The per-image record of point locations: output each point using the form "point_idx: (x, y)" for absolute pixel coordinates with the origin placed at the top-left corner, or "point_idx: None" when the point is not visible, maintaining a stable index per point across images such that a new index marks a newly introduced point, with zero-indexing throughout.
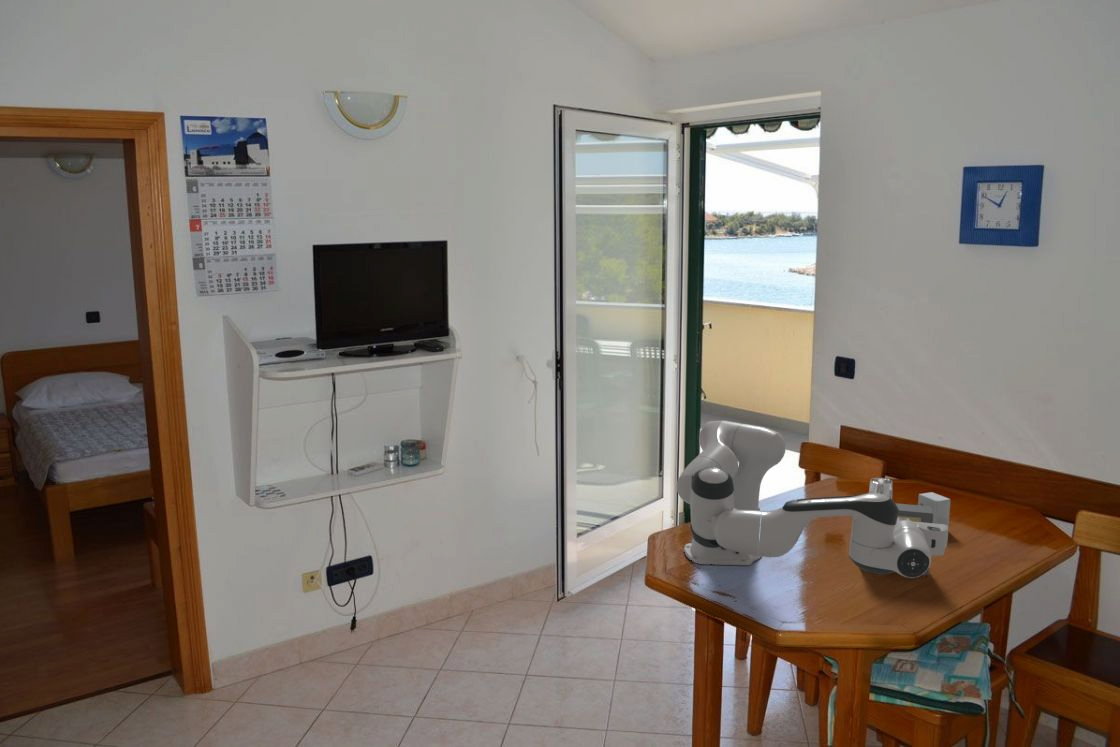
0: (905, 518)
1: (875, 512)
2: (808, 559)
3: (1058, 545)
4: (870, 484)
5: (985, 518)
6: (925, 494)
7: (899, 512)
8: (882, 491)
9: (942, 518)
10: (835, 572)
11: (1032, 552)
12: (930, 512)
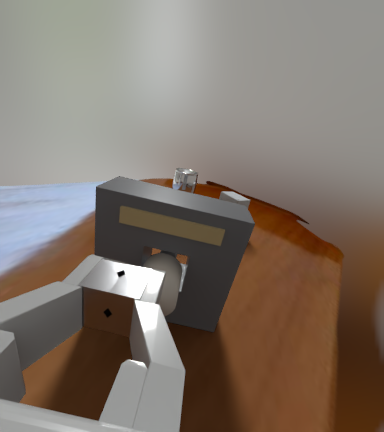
0: (139, 271)
1: None
2: (16, 272)
3: (336, 256)
4: (175, 173)
5: (266, 219)
6: (227, 192)
7: (178, 210)
8: (185, 182)
9: None
10: None
11: (323, 267)
12: (248, 220)
